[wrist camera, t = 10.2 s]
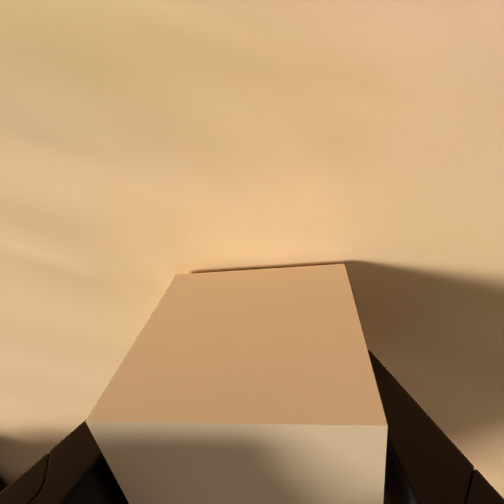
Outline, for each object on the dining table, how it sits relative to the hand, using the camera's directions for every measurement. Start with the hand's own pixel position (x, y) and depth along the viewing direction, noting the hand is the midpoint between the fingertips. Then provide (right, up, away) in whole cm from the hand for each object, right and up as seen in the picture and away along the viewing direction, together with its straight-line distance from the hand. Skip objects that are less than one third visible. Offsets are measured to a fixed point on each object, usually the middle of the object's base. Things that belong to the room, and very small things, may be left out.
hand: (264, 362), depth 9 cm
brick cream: (0, 0, +1) cm, 1 cm away
